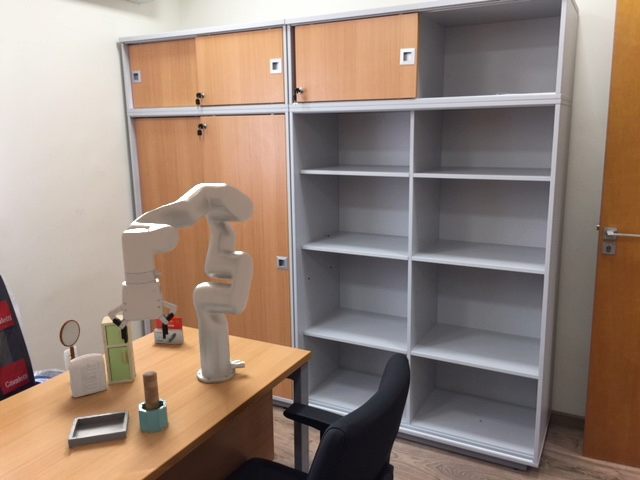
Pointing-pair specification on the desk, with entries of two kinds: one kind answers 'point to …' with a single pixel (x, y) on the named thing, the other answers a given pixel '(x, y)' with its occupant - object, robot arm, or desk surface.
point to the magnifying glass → (70, 335)
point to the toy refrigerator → (118, 352)
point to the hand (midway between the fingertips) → (145, 339)
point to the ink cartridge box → (169, 332)
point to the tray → (99, 428)
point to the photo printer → (87, 374)
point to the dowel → (151, 391)
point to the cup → (153, 417)
